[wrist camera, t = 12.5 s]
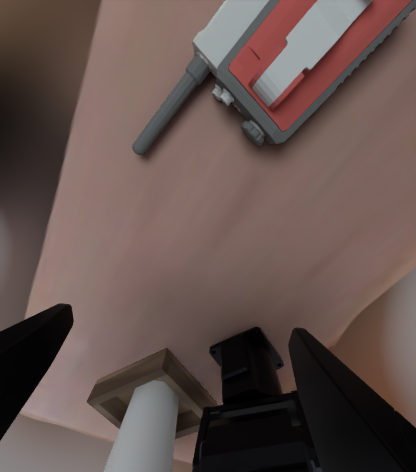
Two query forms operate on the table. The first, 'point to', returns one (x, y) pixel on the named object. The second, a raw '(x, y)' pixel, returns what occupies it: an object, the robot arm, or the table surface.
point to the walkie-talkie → (279, 59)
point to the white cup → (146, 431)
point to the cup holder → (146, 370)
